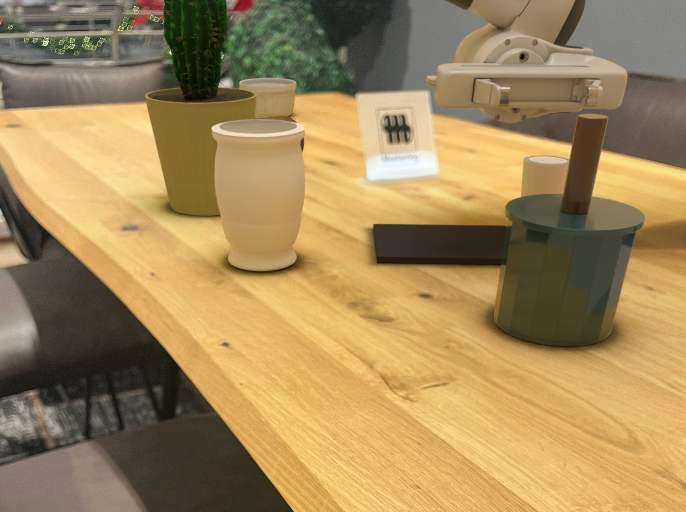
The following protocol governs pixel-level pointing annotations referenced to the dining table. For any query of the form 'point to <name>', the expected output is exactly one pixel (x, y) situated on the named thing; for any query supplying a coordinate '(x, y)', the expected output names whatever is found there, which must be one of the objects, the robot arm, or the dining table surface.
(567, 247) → the storage jar
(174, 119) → the potted cactus
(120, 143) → the dining table surface
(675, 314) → the dining table surface
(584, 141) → the jar lid
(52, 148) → the dining table surface
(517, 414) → the dining table surface
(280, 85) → the ramekin
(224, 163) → the jar
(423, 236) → the mat
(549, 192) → the beige cylinder
